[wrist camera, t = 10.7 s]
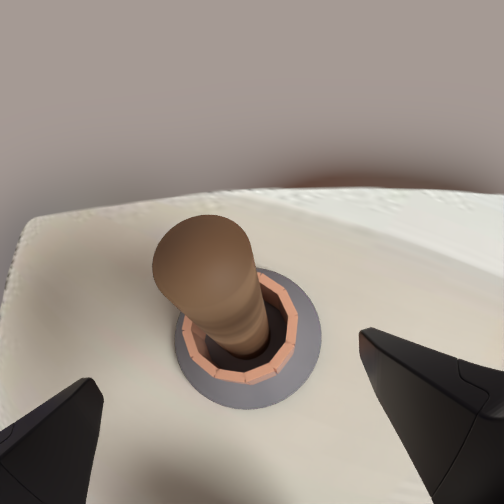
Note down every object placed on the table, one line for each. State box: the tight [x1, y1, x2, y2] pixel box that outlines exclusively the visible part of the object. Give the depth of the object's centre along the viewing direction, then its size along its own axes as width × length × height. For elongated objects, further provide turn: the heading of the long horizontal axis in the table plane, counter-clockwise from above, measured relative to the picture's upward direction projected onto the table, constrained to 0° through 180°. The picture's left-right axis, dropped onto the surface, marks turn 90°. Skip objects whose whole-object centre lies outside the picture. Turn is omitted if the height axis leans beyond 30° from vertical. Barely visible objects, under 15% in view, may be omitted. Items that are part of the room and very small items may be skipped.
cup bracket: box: [175, 268, 321, 409], centre depth 20 cm, size 11×11×4 cm
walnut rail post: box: [152, 215, 271, 360], centre depth 16 cm, size 4×4×12 cm
